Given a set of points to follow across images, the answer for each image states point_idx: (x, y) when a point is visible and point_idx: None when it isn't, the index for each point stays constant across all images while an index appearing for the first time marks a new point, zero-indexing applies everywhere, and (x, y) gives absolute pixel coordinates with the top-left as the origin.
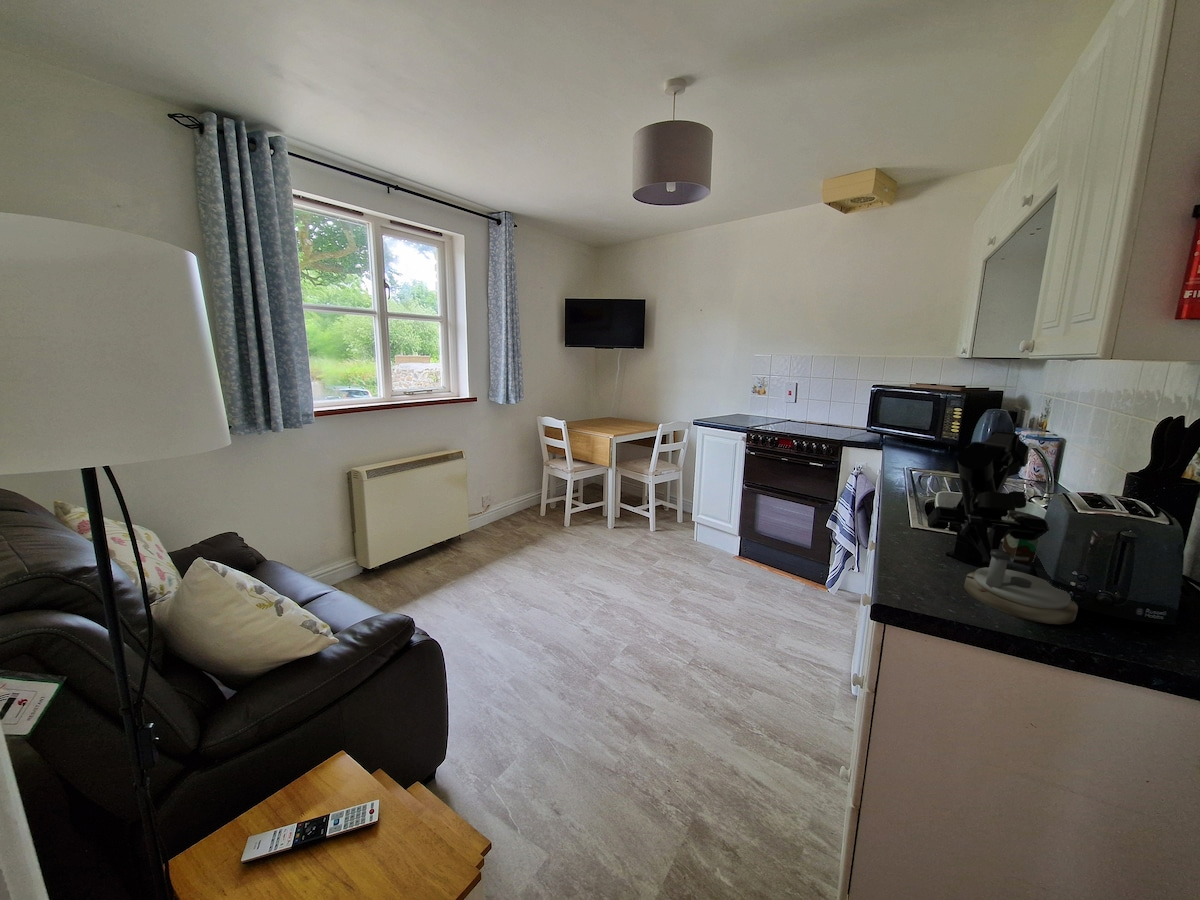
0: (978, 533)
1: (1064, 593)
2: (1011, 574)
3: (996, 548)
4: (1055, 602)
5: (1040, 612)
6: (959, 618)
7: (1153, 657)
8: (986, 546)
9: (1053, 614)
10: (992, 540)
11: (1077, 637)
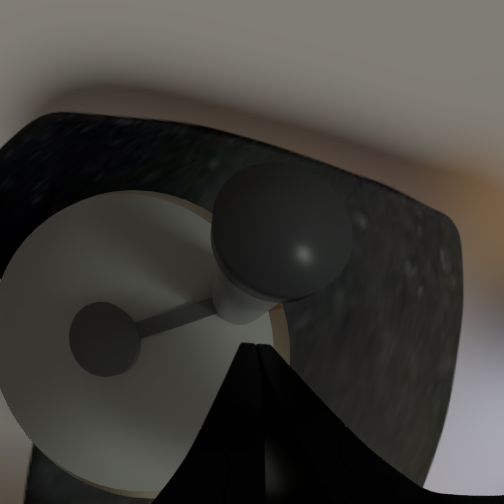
0: (418, 490)
1: (7, 286)
2: (94, 434)
3: (229, 406)
4: (88, 204)
5: (152, 192)
6: (352, 190)
7: (37, 141)
8: (316, 407)
9: (119, 191)
10: (262, 480)
11: (112, 164)
